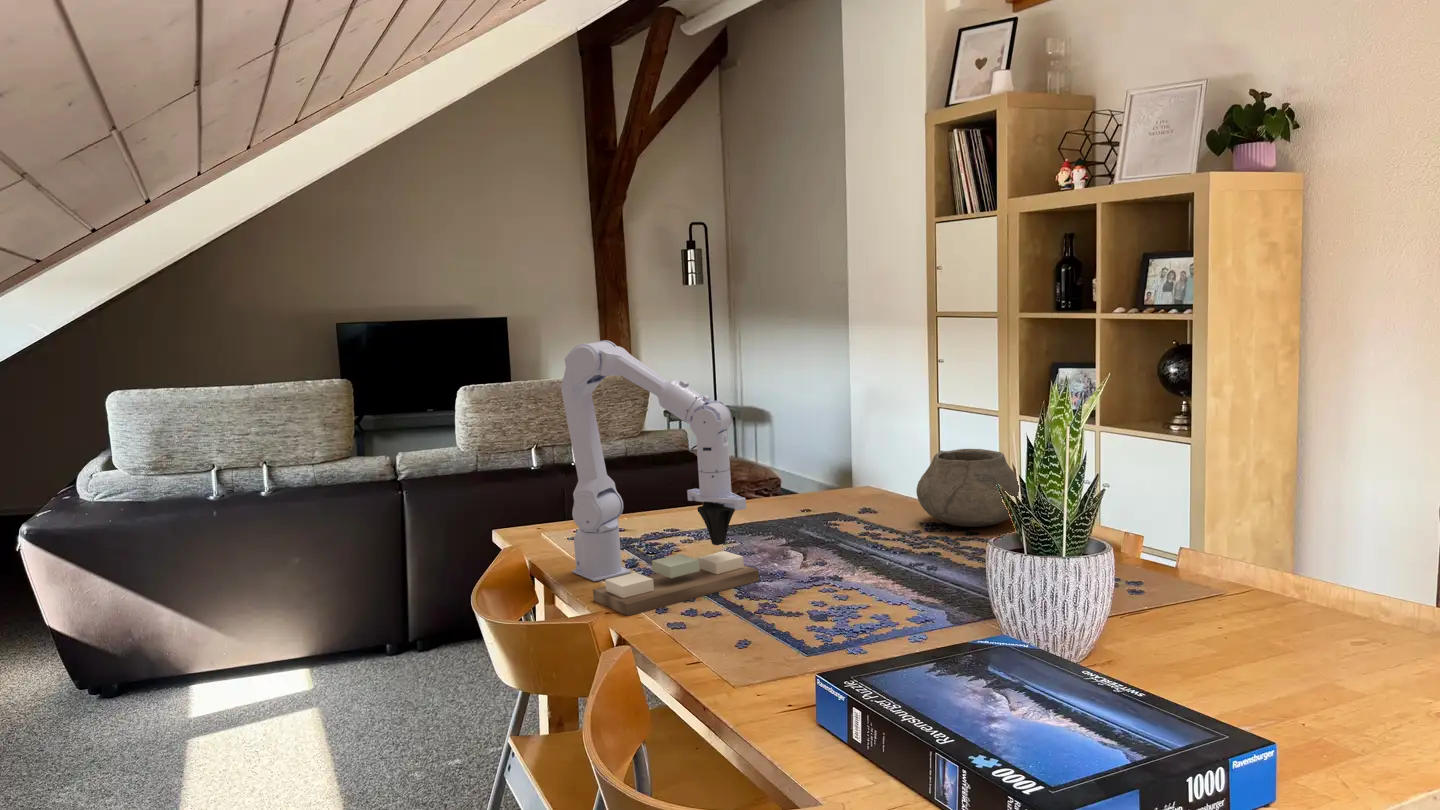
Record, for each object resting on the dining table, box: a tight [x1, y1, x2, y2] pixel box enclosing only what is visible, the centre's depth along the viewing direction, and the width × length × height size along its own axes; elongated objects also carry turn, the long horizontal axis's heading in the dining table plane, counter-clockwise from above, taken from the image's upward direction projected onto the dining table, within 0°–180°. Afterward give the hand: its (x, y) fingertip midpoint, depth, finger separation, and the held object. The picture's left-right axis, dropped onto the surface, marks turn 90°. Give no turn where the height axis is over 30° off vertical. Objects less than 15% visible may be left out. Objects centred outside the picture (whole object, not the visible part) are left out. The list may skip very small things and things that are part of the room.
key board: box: [592, 565, 760, 617], centre depth 184 cm, size 12×27×2 cm, turn 125°
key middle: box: [651, 553, 700, 578], centre depth 183 cm, size 6×6×2 cm
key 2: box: [696, 550, 745, 574], centre depth 189 cm, size 6×6×2 cm
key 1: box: [604, 572, 654, 598], centre depth 178 cm, size 6×6×2 cm
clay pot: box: [915, 448, 1019, 528], centre depth 217 cm, size 22×21×15 cm
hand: (718, 543), depth 189 cm, fingers closed
